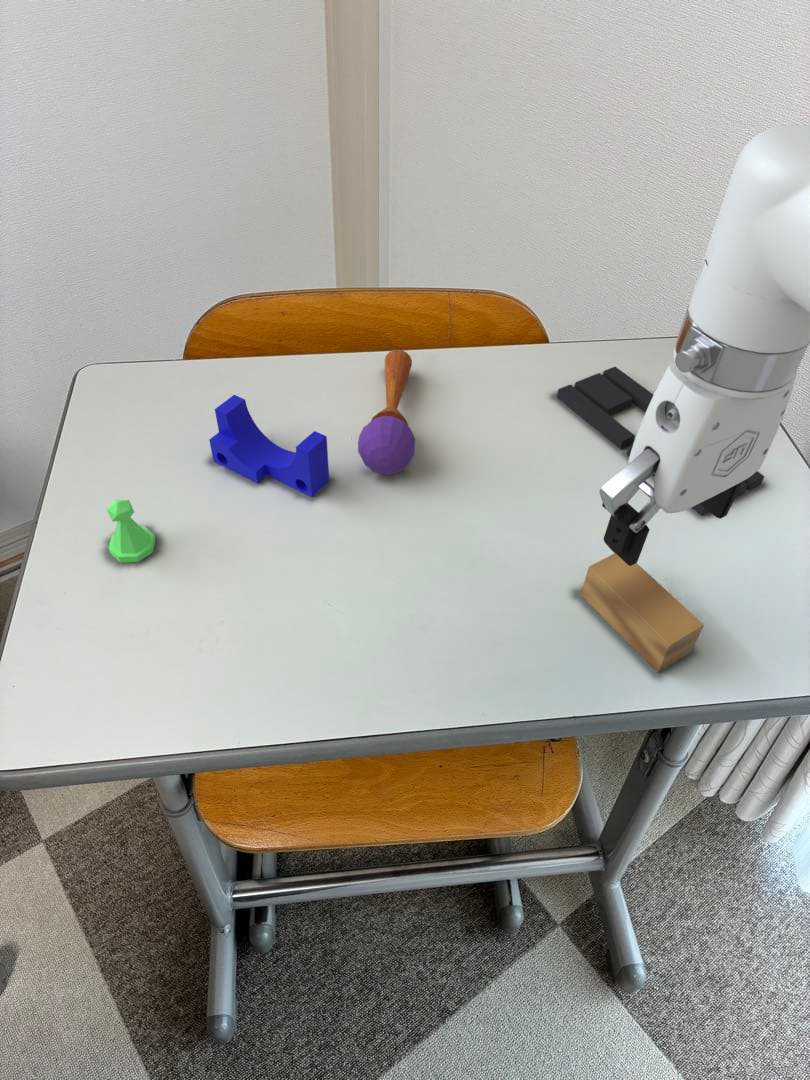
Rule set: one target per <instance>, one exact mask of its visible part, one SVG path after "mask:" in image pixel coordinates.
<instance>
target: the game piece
mask: <svg viewBox="0 0 810 1080" xmlns="http://www.w3.org/2000/svg"><path fill="white" fill-rule="evenodd" d="M106 511H107V513H108V515H109V518H110V520H111V522H116V526H115V532H114V533H112V535H111V536H110V540H109V544H108V551H109V553H110V555H111V556H113V557H114V558H115V559H116V560H117V561H119V563H140V562H141V561H142V560H144V559H145V558H147V557H148V556H150V555H152V554H153V553H154V550H155V544H156V540H157V539H156V536H155V534H154V533H153V532H152V531H150V530H149V529H148V528H147V527H146V526H144V525H139V523H137V522H136V521H135V520H134V519H133V518H132V516H133V515H134V514H135V510H134V508H133V505H132V504H131V502H130V500H129V499H114V500H113V501H112V502H111V503H110V504H109V506H108V507H107V508H106Z"/></svg>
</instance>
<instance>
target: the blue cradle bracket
mask: <svg viewBox="0 0 810 1080" xmlns="http://www.w3.org/2000/svg"><path fill="white" fill-rule="evenodd" d="M214 413H215V418H216V424H217V429H218V432H217V433H216V434H215V435H213V436H212V437H211V438H210V439H209V440H208V441H209V446H210V450H211V456H212V460H213V462H214V463H215V464H218V465H220V466H222V467H224V468H225V469H228V470H230V471H232V472H234V473H236V474H238V475H240V476H242V477H243V478H246V479H248V480H250V481H252V482H254V483H256V484H258V483H259V482H260V481H261V480H263V478H265V477H266V476H267V477H269V478H272V479H274V480H276V481H278V482H280V483H281V484H284V485H285V486H288V487H290V488H291V489H294V490H296V491H298V492H300V493H302V494H304V495H306V496H308V497H310V498H313V497H314V496H315V495H316V494H317V493H318V492H319V491H321V490H322V488H323V487H324V486H326V485H327V484H328V483H329V482H330V470H329V452H328V436H327V435H325V434H323V433H321V432H318V431H315V430H314V431H312V432H311V433H310V434H308V436H307V437H305V438H304V440H302V441H301V442H299V444H297V445H296V446H295V451H290V450H288V449H285V448H283V447H281V446H279V445H278V444H276V443H274V442H273V441H272V440H271V439H269V437H267V436H266V434H264V432H262V430H260V428H259V427H258V425H257V424H256V422H255V421H254V419H253V418H252V415H251V413H250V411H249V408H248V406H247V401H246V399H245V398H243V397H241V396H238V395H236V394H233V395H231V396H230V397H228V398H227V399H226V400H225V401H223V402H222V403H221V404H219V405H218V406H217V407H215V408H214Z"/></svg>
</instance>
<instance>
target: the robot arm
mask: <svg viewBox="0 0 810 1080" xmlns="http://www.w3.org/2000/svg"><path fill="white" fill-rule="evenodd" d="M679 329H680V330H679V332H678V335H677V338H676V341H675V344H674V346H673V350H672V359H673V360H672V361H671V362H670V363H669V364H668V366H667V368H666V369H665V371H664V374H663V375H662V378H661V379H660V381H659V383H658V385H657V387H656V389H655V391H654V393H653V397H652V400H651V402H650V404H649V406H648V408H647V411H646V412H645V413H644V415H643V418H642V420H641V422H640V425H639V428H638V430H637V433H636V435H635V438H634V441H633V444H632V445H633V447H632V450H631V453H630V457H629V456H628V461H627V465H626V466H624V467H623V468H622V469H621V470H620V471H618V472H617V473H615V475H614V476H613V477H611V478H610V479H609V480H607V481H606V482H605V483H603V485H602V486H601V487H600V489H599V496H600V499H601V502H602V503H601V504H602V505H601V506H602V507H603V508H604V509H605V510H606V511H607V512H608V513H609V514H610V517H609V520H608V523H607V525H606V530H605V533H604V535H603V542H604V544H605V545H606V546H607V547H608V548H609V549H610V550H611V552H612V553H613V554H614V553H615V554H617V555H618V556H619V557H620V558H621V559H622V560H623V561H624V562H625V563H626V564H627V565H629V566H632V565H634V564H636V563H637V564H638V562H639V558H640V557H641V553H642V551H643V549H644V546H645V543H646V540H647V538H648V535H649V532H650V530H651V529H650V528H649V526H648V525H647V524H648V523H649V522H650V521H651V520H652V519H653V517H654V516H655V515H656V514H658V512H659V511H660V510H661V509H662V510H663V512H665V513H666V514H676V513H681V512H685V511H686V510H687V511H688V510H689V509H692V507H693V506H695V505H697V504H701V505H702V506H703V507H704V508H705V509H707V510H708V511H709V512H708V513H710V514H711V515H712V516H714V517H715V518H716V519H723V518H725V517H727V515H728V514H729V512H730V510H731V507H732V505H733V502H734V501H735V499H736V498H737V497H736V495H737V493H738V491H739V488H740V486H741V484H742V481H744V480H746V479H747V478H749V477H750V476H752V475H753V474H754V473H755V472H757V471H758V472H759V470H760V469H761V467H762V465H763V463H764V461H765V459H766V457H767V454H768V453H769V450H770V448H771V446H772V443H773V441H774V440H775V437H776V434H777V432H778V430H779V428H780V425H781V422H782V421H783V419H784V414H785V412H786V409H787V407H788V405H789V401H790V398H791V395H792V391H793V388H794V385H795V381H796V379H797V378H796V377H797V373H798V368H799V367H800V364H801V362H802V360H803V358H804V356H805V354H806V352H807V350H808V348H809V346H810V125H809V124H792V125H780V126H775V127H771V128H768V129H766V130H763V131H762V132H759V133H758V134H756V135H755V136H754V137H752V138H751V139H750V140H749V141H748V142H747V143H746V145H744V147H743V148H742V150H741V152H740V153H739V155H738V157H737V159H736V163H735V165H734V167H733V170H732V173H731V176H730V179H729V181H728V186H727V187H726V191H725V194H724V196H723V200H722V202H721V206H720V208H719V211H718V215H717V217H716V221H715V224H714V227H713V230H712V233H711V235H710V238H709V241H708V244H707V248H706V251H705V254H704V257H703V259H702V263H701V266H700V269H699V272H698V275H697V278H696V281H695V284H694V287H693V290H692V293H691V295H690V299H689V302H688V305H687V308H686V311H685V314H684V317H683V320H682V323H681V326H680V328H679ZM653 474H654V475H655V476H653ZM651 477H653V486H652V485H651V484H650V483H649V482H648V481H647V480H648V479H649V478H651ZM639 490H640V491H641V492H642V493H644V494H645V495H646V496H647V497H648V498H650V499H649V500H648V501H647V502H646V504H645V505H644V506H643V507H642V508H641V509H640V511H638V510H637V509H635V508H634V507H633V506H632V505H631V504H630V503H629V502H630V501H631V499H632V498H633V497H634V496H635V495H636V494H637V493H638V492H639ZM735 497H736V498H735Z"/></svg>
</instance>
